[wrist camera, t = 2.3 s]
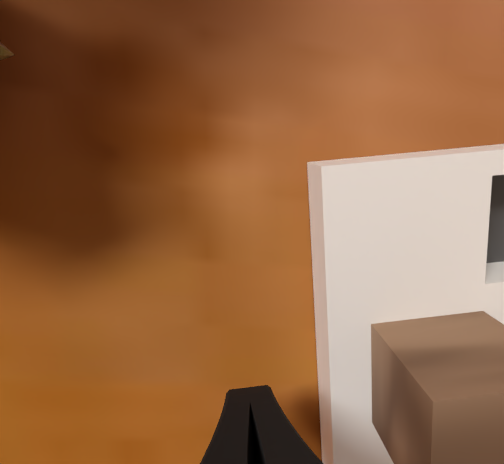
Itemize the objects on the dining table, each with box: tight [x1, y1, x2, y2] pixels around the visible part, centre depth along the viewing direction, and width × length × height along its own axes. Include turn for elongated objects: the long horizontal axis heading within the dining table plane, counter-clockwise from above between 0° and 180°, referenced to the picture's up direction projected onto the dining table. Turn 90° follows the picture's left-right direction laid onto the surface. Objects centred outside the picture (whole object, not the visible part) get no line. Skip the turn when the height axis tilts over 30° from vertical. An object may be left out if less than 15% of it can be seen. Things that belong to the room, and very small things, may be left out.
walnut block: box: [371, 311, 504, 464], centre depth 12 cm, size 4×4×4 cm
